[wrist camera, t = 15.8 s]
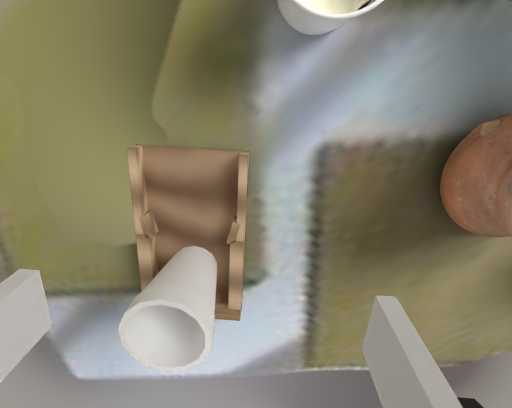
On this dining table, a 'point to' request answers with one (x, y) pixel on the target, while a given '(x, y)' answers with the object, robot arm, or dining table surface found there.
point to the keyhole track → (191, 212)
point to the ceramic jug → (481, 180)
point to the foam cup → (174, 314)
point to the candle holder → (322, 13)
